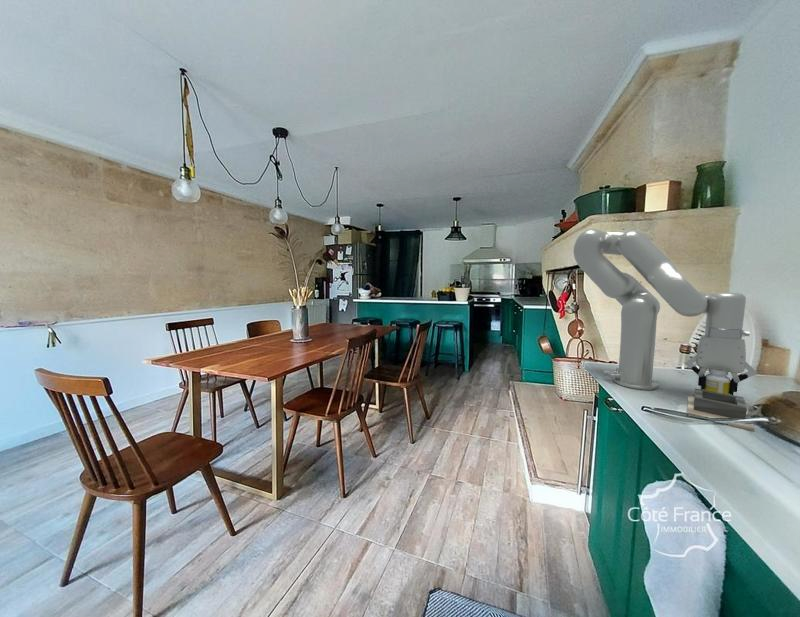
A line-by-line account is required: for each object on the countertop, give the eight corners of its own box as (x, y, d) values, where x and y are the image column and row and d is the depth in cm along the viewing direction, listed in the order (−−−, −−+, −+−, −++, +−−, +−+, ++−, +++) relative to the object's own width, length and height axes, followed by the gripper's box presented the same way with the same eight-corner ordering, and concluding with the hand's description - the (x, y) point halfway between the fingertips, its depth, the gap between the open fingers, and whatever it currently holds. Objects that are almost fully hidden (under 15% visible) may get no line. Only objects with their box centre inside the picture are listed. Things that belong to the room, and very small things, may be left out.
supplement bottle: (725, 398, 92) (728, 368, 91) (731, 405, 88) (735, 373, 87) (700, 394, 95) (704, 365, 94) (705, 400, 91) (709, 370, 90)
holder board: (754, 431, 73) (756, 414, 73) (686, 415, 82) (688, 400, 81) (746, 410, 84) (748, 394, 84) (688, 398, 93) (689, 384, 92)
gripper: (765, 335, 86) (757, 395, 88) (683, 328, 98) (678, 381, 100) (769, 339, 80) (761, 403, 83) (683, 331, 93) (677, 387, 95)
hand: (716, 390), depth 91 cm, fingers closed on supplement bottle, 5 cm apart
